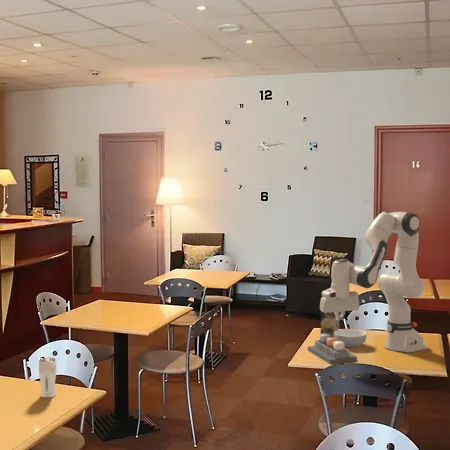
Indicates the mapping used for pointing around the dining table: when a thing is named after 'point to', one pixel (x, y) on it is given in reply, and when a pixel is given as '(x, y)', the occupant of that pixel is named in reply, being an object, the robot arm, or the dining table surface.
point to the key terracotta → (331, 342)
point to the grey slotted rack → (331, 353)
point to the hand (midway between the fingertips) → (339, 320)
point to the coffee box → (329, 323)
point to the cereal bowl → (350, 337)
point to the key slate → (324, 338)
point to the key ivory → (338, 346)
